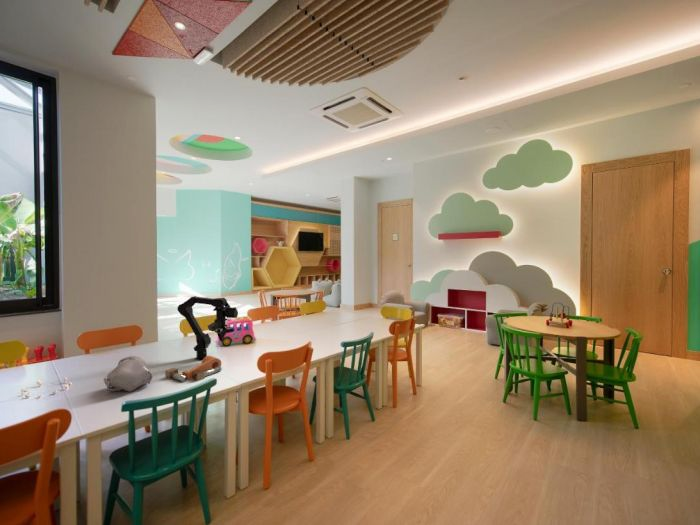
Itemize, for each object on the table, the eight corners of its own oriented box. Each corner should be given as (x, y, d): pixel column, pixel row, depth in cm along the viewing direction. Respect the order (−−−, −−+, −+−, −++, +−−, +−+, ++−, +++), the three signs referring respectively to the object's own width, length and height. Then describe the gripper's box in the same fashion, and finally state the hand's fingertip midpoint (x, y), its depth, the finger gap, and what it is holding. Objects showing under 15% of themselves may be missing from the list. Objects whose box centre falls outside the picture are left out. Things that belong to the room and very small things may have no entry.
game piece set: (19, 390, 163) (19, 383, 163) (71, 379, 177) (71, 372, 177) (18, 404, 150) (18, 396, 149) (75, 391, 164) (75, 383, 163)
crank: (214, 366, 199) (213, 354, 198) (221, 369, 194) (221, 356, 194) (180, 377, 183) (180, 363, 182) (188, 380, 178) (187, 366, 178)
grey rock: (104, 402, 154) (106, 373, 152) (101, 383, 167) (103, 356, 165) (152, 393, 168) (155, 366, 165) (147, 376, 180) (149, 351, 178)
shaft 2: (197, 381, 177) (197, 373, 177) (192, 379, 179) (191, 372, 179) (222, 371, 190) (222, 365, 190) (217, 370, 193) (217, 363, 193)
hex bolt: (165, 377, 181) (165, 370, 181) (174, 374, 185) (174, 367, 185) (179, 383, 173) (179, 376, 173) (188, 380, 178) (188, 373, 178)
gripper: (200, 317, 208) (200, 341, 209) (219, 321, 198) (219, 346, 199) (216, 314, 218) (216, 337, 218) (234, 318, 208) (234, 342, 209)
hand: (221, 341), depth 211 cm, fingers closed
